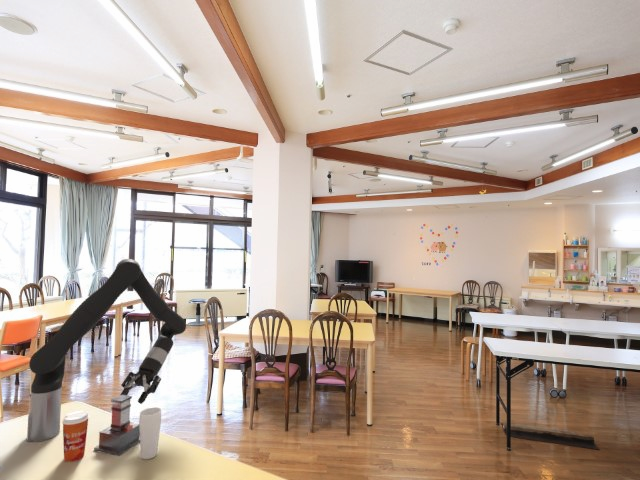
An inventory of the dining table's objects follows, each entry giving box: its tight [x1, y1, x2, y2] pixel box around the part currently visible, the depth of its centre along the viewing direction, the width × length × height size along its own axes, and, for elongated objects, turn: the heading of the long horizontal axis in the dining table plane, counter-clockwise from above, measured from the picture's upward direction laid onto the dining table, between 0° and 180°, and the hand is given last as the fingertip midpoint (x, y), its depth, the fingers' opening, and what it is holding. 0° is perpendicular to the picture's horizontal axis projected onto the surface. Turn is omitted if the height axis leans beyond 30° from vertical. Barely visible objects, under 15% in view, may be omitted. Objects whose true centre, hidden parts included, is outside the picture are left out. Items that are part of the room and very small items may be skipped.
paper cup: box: [61, 410, 91, 463], centre depth 118 cm, size 8×8×14 cm
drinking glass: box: [138, 406, 162, 460], centre depth 120 cm, size 7×7×15 cm
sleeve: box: [93, 421, 140, 457], centre depth 126 cm, size 11×11×7 cm
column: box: [110, 394, 133, 433], centre depth 126 cm, size 5×5×16 cm
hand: (130, 401), depth 130 cm, fingers open, 8 cm apart
